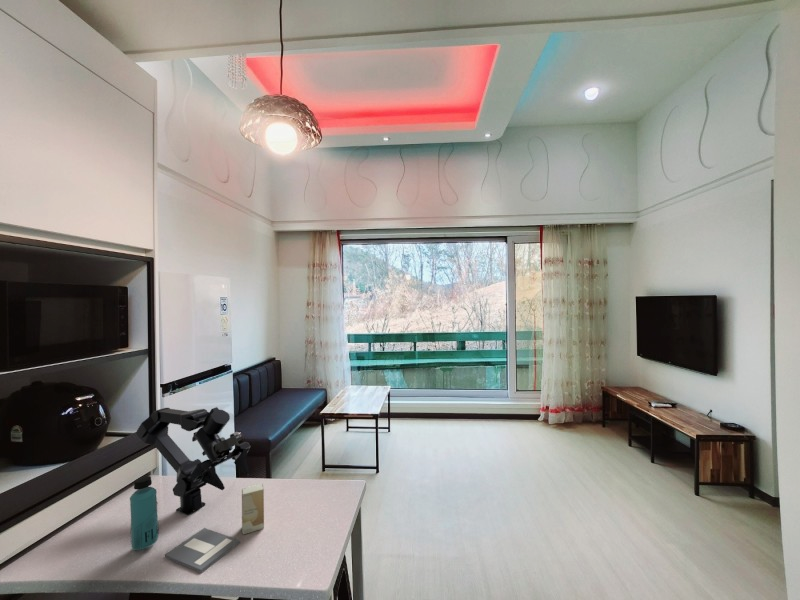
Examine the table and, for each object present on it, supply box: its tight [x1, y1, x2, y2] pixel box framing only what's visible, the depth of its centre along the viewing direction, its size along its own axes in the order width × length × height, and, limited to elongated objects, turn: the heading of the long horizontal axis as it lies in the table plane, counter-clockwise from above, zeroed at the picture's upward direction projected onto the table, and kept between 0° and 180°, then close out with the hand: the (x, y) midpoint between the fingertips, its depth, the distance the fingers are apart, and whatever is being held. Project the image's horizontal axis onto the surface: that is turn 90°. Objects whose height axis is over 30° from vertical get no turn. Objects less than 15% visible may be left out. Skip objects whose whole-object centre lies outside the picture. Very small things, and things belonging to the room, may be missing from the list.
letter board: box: [163, 527, 241, 574], centre depth 98 cm, size 15×12×1 cm
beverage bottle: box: [129, 475, 160, 551], centre depth 99 cm, size 6×7×20 cm
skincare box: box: [241, 482, 265, 535], centre depth 107 cm, size 6×4×12 cm
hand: (236, 481), depth 109 cm, fingers open, 9 cm apart
